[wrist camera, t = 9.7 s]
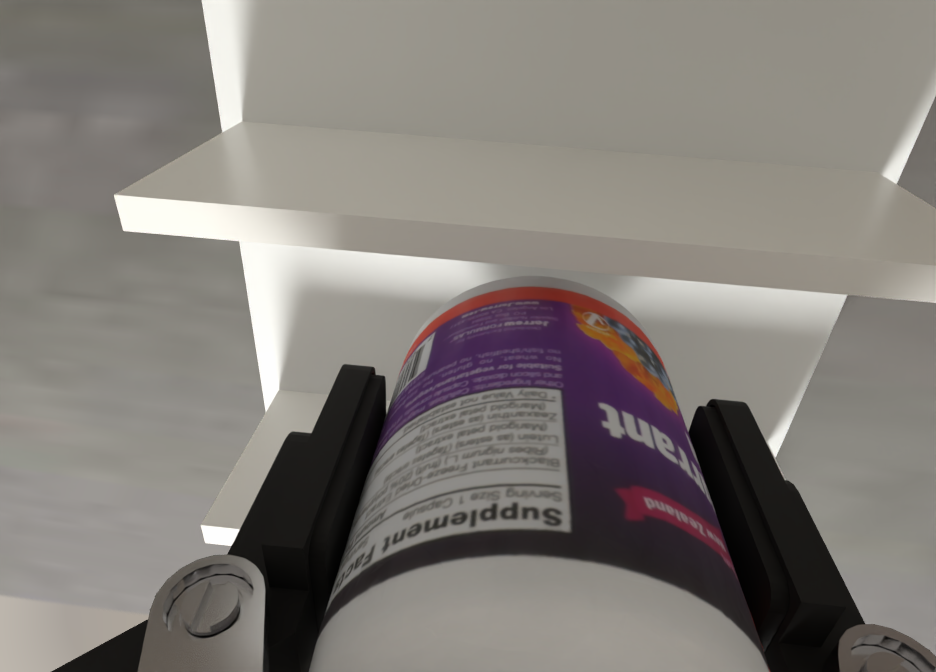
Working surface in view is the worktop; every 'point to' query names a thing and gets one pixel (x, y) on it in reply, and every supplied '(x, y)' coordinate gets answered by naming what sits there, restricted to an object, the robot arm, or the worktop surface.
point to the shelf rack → (555, 181)
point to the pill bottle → (535, 505)
